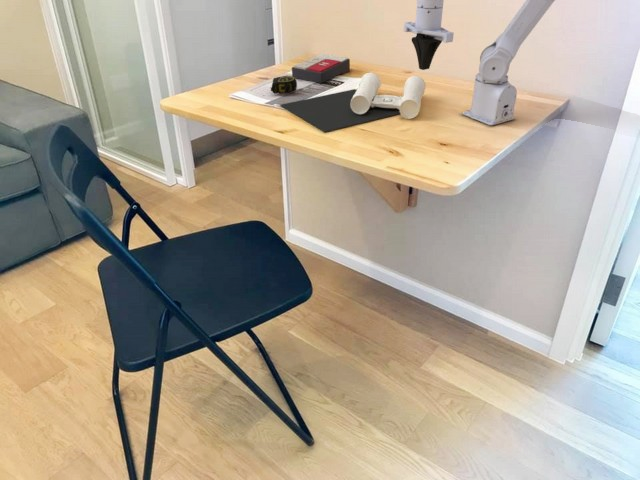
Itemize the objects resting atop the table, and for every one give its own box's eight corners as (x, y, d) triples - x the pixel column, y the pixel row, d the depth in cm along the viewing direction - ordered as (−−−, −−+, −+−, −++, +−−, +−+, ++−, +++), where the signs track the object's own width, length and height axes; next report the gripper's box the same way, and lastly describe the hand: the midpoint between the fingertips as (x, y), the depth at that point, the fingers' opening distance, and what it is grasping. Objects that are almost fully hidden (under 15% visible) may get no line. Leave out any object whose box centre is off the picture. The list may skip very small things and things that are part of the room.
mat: (404, 113, 129) (405, 111, 129) (325, 132, 119) (324, 131, 119) (354, 90, 145) (354, 89, 144) (280, 105, 135) (280, 104, 135)
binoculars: (419, 121, 124) (424, 97, 139) (422, 98, 121) (426, 76, 136) (348, 114, 127) (360, 91, 142) (349, 92, 124) (361, 71, 139)
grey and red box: (290, 65, 154) (320, 51, 163) (291, 79, 156) (321, 65, 166) (321, 70, 148) (350, 56, 158) (321, 85, 151) (350, 70, 160)
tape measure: (273, 88, 147) (272, 75, 145) (297, 88, 147) (297, 74, 145) (271, 96, 142) (270, 82, 139) (296, 96, 141) (295, 82, 139)
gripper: (395, 3, 120) (391, 64, 127) (438, 13, 109) (432, 78, 117) (418, 0, 123) (414, 60, 130) (463, 9, 112) (455, 73, 120)
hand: (424, 68), depth 124 cm, fingers closed
